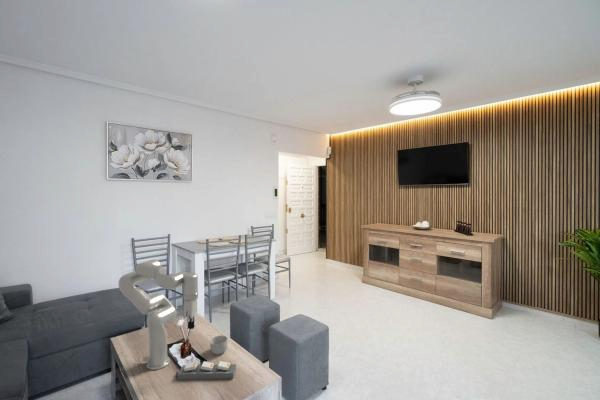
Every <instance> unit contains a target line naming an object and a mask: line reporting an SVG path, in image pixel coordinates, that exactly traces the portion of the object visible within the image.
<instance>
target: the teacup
mask: <svg viewBox="0 0 600 400" xmlns="http://www.w3.org/2000/svg"><path fill="white" fill-rule="evenodd" d="M209 346H210V351H211V353H212V354H214V355H221V354H223V353H225V351H226V350H227V349H228V337H227V335H224V334H223V333H221V334H220V335H217V336H214V337H212V338H211V339H210V340H209Z"/></svg>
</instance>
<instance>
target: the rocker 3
mask: <svg viewBox="0 0 600 400" xmlns="http://www.w3.org/2000/svg"><path fill="white" fill-rule="evenodd" d="M230 364H231V362H228V361H221V360H220V361H219V363H218V364H217V365H218V368H217V369H222V370H229V367H230Z"/></svg>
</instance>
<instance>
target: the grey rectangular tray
mask: <svg viewBox="0 0 600 400" xmlns="http://www.w3.org/2000/svg"><path fill="white" fill-rule="evenodd" d="M218 365H219V364H214V367H213V369H212V371H209V370H204V369H201V366H202V364H198V365H197V367H196V369H193V370H189V371H184V368H185V366H186V364H185V365H182V367H181V368H180V370H179V371H177V372H176V376H177V381H179V380H180V381H181V380H184V381H185V380H227V379H228V380H231V379H232V380H233V379H234V378H235V375H236V371H237V364H236V363H235V364H233V363H232V364H231V363H230V367H229V370H222V369H217V368H218Z"/></svg>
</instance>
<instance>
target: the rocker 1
mask: <svg viewBox="0 0 600 400" xmlns="http://www.w3.org/2000/svg"><path fill="white" fill-rule="evenodd" d="M185 365H186V366H185V368H184V371H189V370H193V369H196V367H197V365H199V361H194V362H193V361H192V362H189V363H186V364H185Z"/></svg>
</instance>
